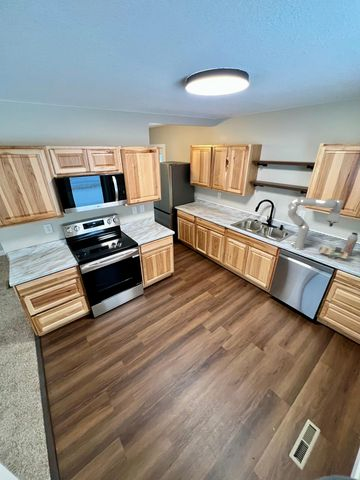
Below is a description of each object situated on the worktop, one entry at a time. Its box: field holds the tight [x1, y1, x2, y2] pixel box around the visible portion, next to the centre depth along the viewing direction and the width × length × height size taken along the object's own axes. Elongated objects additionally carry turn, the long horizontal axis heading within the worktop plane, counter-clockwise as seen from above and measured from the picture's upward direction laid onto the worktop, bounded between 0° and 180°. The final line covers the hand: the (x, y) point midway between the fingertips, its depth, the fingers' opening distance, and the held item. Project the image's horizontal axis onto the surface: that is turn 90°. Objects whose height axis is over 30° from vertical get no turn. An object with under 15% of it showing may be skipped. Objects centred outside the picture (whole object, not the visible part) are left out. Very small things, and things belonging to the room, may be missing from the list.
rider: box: [334, 246, 342, 253], centre depth 215 cm, size 5×5×7 cm
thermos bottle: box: [342, 232, 359, 258], centre depth 218 cm, size 8×8×28 cm
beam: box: [318, 246, 348, 260], centre depth 219 cm, size 26×6×8 cm, turn 52°
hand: (330, 226), depth 220 cm, fingers closed
